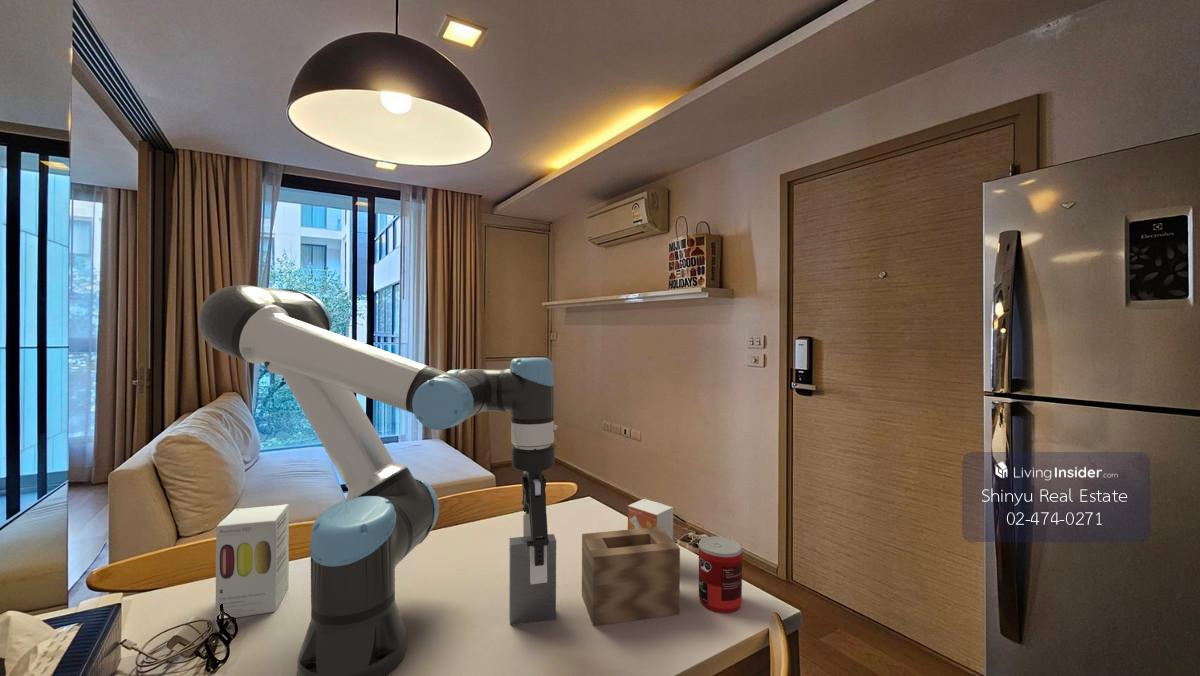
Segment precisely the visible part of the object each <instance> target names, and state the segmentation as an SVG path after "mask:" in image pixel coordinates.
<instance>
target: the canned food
mask: <svg viewBox="0 0 1200 676" xmlns="http://www.w3.org/2000/svg"><path fill="white" fill-rule="evenodd" d="M742 582H743V548H742V545H741V544H740V543H739V542H738V541H737V540H734V539H731V538H728V537H725V536H718V535H717V536H715V535H713V536H707V537H703V538H701V539H700V540H699V543H698V599H699V602H700V603H701V605H702V606H704V607H705V608H707V609H708V610H710V611H712V612H716V613H722V614H726V613H727V614H728V613H733V612H736V611H738V610H739V609H740V607H741V605H742V601H743V600H742V598H743V597H742V594H743V591H742V590H743V583H742Z"/></svg>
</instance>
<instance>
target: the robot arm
mask: <svg viewBox="0 0 1200 676" xmlns="http://www.w3.org/2000/svg"><path fill="white" fill-rule="evenodd" d="M197 325H198V328H199V332H200V333H201V336H202V338H203V339H204V340H205V342H206V343H207V344H208V345H210V346H211V347H212V348H213V349H215V350H216V351H219V352H221V353H223V354H224V355H228V356H231V357H233V358H236V359H239V360H242V361H244V362H247V363H251V364H255V365H256V364H257V365H259V364H264V366H265V368H266V370H267V371H268V372H269V373H271V374H272V373H273V374H276V375H280V376H282V377H283V379H284V381H285V383H286V385H287V386H288V388H289V389H290V392H291V393H292V395H293V396H294V398H295V400H296V401H297V403H298V405H299V407H300V408H301V411H302V412H303V414H304V415H305V417H306V419H307V420H308V423H309V424H310V425H311V427H312V429H313V431H314V433H315V435H316V436H317V438H318V440H319V441H320V443H321V445H322V446H323V448H324V450H325V451H326V453H327V454H328V457H329V458H330V460H331V462H332V463H333V466H334V467H335V469H336V471H337V472H338V474H339V475H340V477H341V479H342V481H343V482H344V485H345V486H346V488H347V489H348V490H347V495H346V498H345V501H339V502H338V503H336V504H333V505H331V506H329V507H328V508H326V509H325V510H323V511H322V512H321V513H319V515H317V517H316V519H315V520H314V522H313V524H312V527H311V536H310V541H309V547H308V550H309V555H310V605H311V608H310V609H311V610H310V611H311V612H310V622H309V625H308V627H307V630H306V632H305V636H304V638H303V642H302V644H301V646H300V647H301V648H300V650H299V654H298V657H297V676H386V675H388V674H390V672H391V671H392V670H394V669H395V668H396V667H397V666H399V664H400V663H401V662H402V660H403V658H404V656H405V655H406V652H407V647H408V646H407V643H408V641H407V639H408V638H407V637H408V636H407V635H408V633H407V630H406V629H407V628H406V626H405V623H404V620H403V618H402V615H401V613H400V610H399V607H398V604H397V601H396V590H395V589H396V567H397V565H398V564H399V563H400V562H402V560H404V558H405V557H406V556H408V555H409V554H410V552H412V551H413V550H414V549H415V548H416V547H417V546H418V545H420V544H422V543H423V541H425V540H426V538H427V537H428V536H429V534H430V532H431V531H432V530H433V528H434V527H435V525H436V524H437V520H438V517H439V513H440V509H439V508H440V505H439V499H438V496H437V494H436V492H435V489H434V488H433V487H432V486H431V485H430V483H428V482H427V481H425V480H423V479H422V480H421V479H419V478H417V477H414V475H413V474H412V473H411V471H410V469H409V467H408V466H407V465H406V464H405V465H404V464H401V463H397V462H396V461H394V459H393V457H392V456H391V455H390V453H389V451H388V450H387V448H386V446H385V444H384V443H383V441H382V439H381V437H380V435H379V434H378V433H377V431H376V429H375V427H374V425H373V424H372V422H371V420H370V418H369V417H368V415H367V414H366V412H365V410H364V408H363V406H362V405H361V403H360V402H359V400H358V398H357V397H356V395H355V394H358V395H361V396H363V397H366V398H369V399H372V400H375V401H376V402H380V403H383V404H386V405H389V406H392V407H394V408H397V409H400V410H402V411H405V412H408V413H411V414H413V415H414V417H415V418H416V419H417V420H418V422H419V423H421V425H422V426H423V427H425V428H427V429H431V430H434V431H435V430H436V431H437V430H438V431H441V430H446V429H450V428H454V427H456V426H458V425H460V424H462V423H464V422H465V421H466V420H468V419H470V418H472V417H474V416H476V415H478V414H480V413H483V412H485V413H486V412H487V413H488V412H503V413H504V412H510V415H511V416H510V418H511V420H510V428H511V429H510V431H511V432H510V435H511V437H510V441H511V444H512V445H513V446H512V447H511V467H512V469H514V470H516V471H520V472H523V474H522V476H521V487H522V501H521V504H522V511H523V513H522V514H523V515H522V520H523V521H522V522H523V523H522V524H523V525H522V528H523V530H522V531H523V532H522V534H523V536H522V537H526V536H531V541H527V547H528V546H530V583H531V584H538V583H546V582H547V545H548V544H549V539H548V534H549V532H548V517H547V501H546V500H547V497H546V495H547V494H546V487H547V481H546V480H547V479H546V478H545V475H544V474H542V472H543V471H545V470H549V469H551V468H553V467H554V466H555V446H554V445H553V443H554V442H555V432H554V431H556V430H558V425H557V424H555V382H554V370H553V367H554V366H553V362H552V360H551V359H550V358H547V357H516V358H513V359H511V362H510V366H509V368H504V369H486V368H485V369H483V368H482V369H480V368H478V369H477V368H476V369H475V368H474V369H472V368H471V369H470V368H460V369H450V370H448V371H443V370H441V369H438V368H435V367H431V366H429V365H427V364H424V363H421V362H418V361H415V360H413V359H410V358H407V357H404V356H401V355H398V354H396V353H393V352H389V351H387V350H385V349H384V350H383V349H381V348H378V347H375V346H374V345H373V346H372V345H370V344H367V343H364V342H361V341H358V340H355V339H353V338H350V337H348V336H344V335H342V334H339V333H335V332H333V331H332V329H331V328H332V327H333V319H332V315H331V313H330V311H329V309H328V308H327V306H326V305H325V303H323V301H321V300H320V299H319V298H317V297H316V296H314V295H312V294H309V293H307V292H303V291H301V290H296V289H292V288H291V289H290V288H283V289H281V288H280V289H279V288H272V287H263V286H256V285H249V284H237V285H231V286H230V285H229V286H226V287H223V288H222V287H221V288H220V289H218V290H216V291H214V292H213V293H211V294H210V295H209V296H208V297H207V298H205V300H204V301H203V303H202V305H201V307H200V308H199V312H198V316H197ZM542 536H543V537H542ZM536 537H538V538H536Z"/></svg>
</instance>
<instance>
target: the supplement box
mask: <svg viewBox="0 0 1200 676" xmlns="http://www.w3.org/2000/svg"><path fill="white" fill-rule="evenodd" d="M289 526H290V504H289V503H288V504H287V503H285V504H284V503H283V504H279V505H267V506H255V507H245V508H240V507H239V508H234V509H233V510H232V511H231V512H230V513H229V514H228V515H227V516H225V517H224V518H223V519H222V520H221V521H220V522H219V523H218V524H217V525H216V530H215V535H216V536H215V545H216V546H215V617H214V618H215V619H214V620H215V621H216V620H217V616H218V614H219V612H220V605H221V604H223V609H224V612H225V613H227V614H229V615H231V616H232V617H234V618H233V619H235V618H243V617H248V616H255V615H261V614H268V613H275V612H276V611H277V609H278V607H279V606H280V604H281V602H282V600H283V598H284V597H285V594H286V592H287V591H288V589H289V581H290V580H289V575H290V574H289V569H290V568H289V567H290V566H289V565H290V560H289V559H290V558H289V553H290V551H289V549H290V548H289V547H290V527H289ZM217 621H218V620H217Z"/></svg>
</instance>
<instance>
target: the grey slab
mask: <svg viewBox="0 0 1200 676" xmlns="http://www.w3.org/2000/svg"><path fill="white" fill-rule="evenodd" d="M542 537H543V536H542ZM536 538H538V537H536ZM548 539H549V544H548V545H547V582H546V583H538V584H531V583H530V546H528V547H527V541H531V536H526V537H523V536H515V537H509V542H508V543H509V548H508V549H509V555H508V557H509V559H508V560H509V563H508V564H509V565H508V566H509V568H508V569H509V570H508V571H509V572H508V575H509V576H508V577H509V579H508V581H509V583H508V585H509V587H508V592H509V593H508V604H509V605H508V606H509V607H508V609H509V610H508V618H509V626H513V624H515V625H520V624H521V623H523V624H530V623H535V622H536V623H537V622H544V621H551V620H557V618H556V617H557V538H556V535H555V534H554V533H551V534H550V533H548ZM529 622H530V623H529Z"/></svg>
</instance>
